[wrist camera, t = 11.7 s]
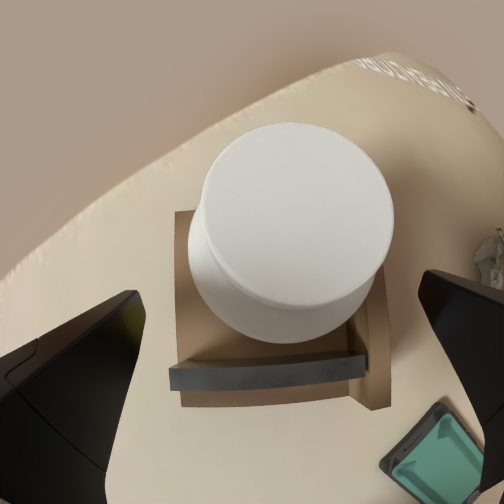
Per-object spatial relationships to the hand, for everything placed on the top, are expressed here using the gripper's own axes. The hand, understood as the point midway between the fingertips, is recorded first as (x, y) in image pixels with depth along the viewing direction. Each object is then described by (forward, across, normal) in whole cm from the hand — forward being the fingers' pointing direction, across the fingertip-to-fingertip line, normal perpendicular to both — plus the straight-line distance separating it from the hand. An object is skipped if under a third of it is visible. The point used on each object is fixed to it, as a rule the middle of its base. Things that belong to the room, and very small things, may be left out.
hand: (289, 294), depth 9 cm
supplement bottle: (+9, 0, -6) cm, 11 cm away
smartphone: (-3, +15, -21) cm, 26 cm away
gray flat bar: (+5, -1, -10) cm, 11 cm away
